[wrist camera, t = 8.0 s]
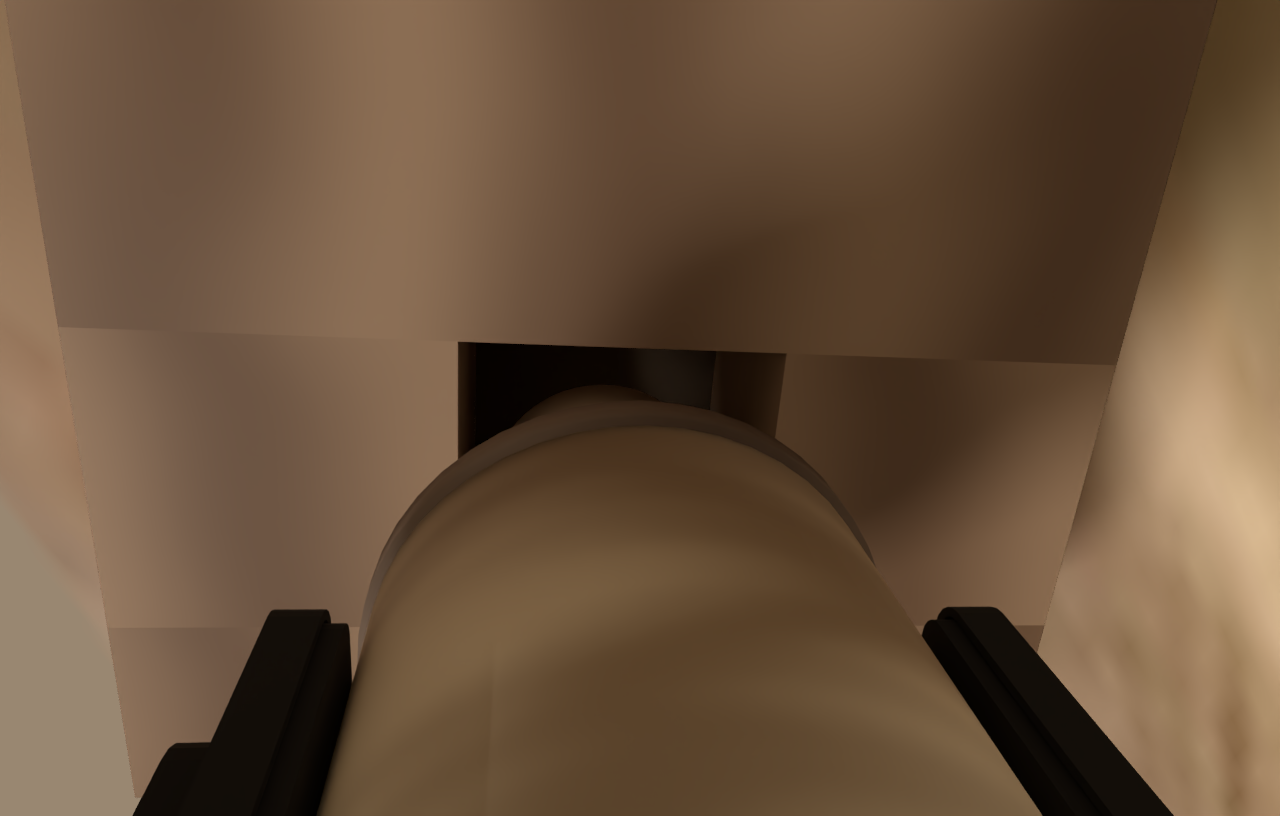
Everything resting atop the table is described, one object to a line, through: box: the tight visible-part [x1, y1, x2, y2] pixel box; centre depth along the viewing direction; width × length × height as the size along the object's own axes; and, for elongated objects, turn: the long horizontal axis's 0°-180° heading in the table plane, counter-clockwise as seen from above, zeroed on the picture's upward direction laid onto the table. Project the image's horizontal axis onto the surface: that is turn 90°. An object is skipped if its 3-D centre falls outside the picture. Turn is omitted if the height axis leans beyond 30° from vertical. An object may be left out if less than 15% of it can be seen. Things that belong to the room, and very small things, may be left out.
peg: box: [316, 385, 1042, 816], centre depth 10 cm, size 6×6×11 cm
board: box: [5, 0, 1217, 797], centre depth 16 cm, size 16×20×5 cm
